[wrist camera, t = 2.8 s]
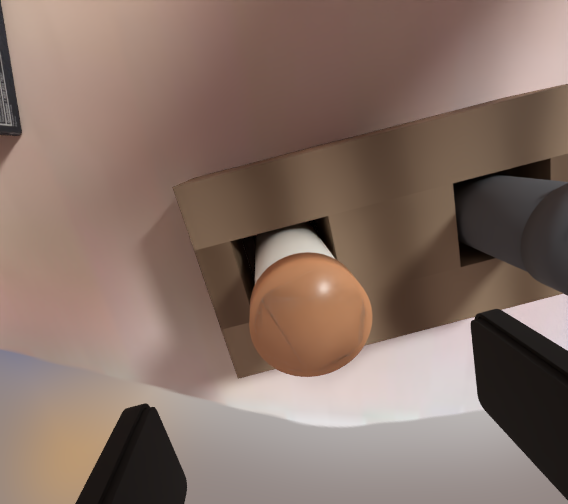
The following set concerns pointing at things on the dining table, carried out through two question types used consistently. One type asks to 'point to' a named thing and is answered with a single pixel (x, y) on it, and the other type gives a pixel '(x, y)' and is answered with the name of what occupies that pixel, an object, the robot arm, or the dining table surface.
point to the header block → (381, 215)
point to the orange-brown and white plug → (305, 304)
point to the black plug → (517, 223)
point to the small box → (7, 89)
